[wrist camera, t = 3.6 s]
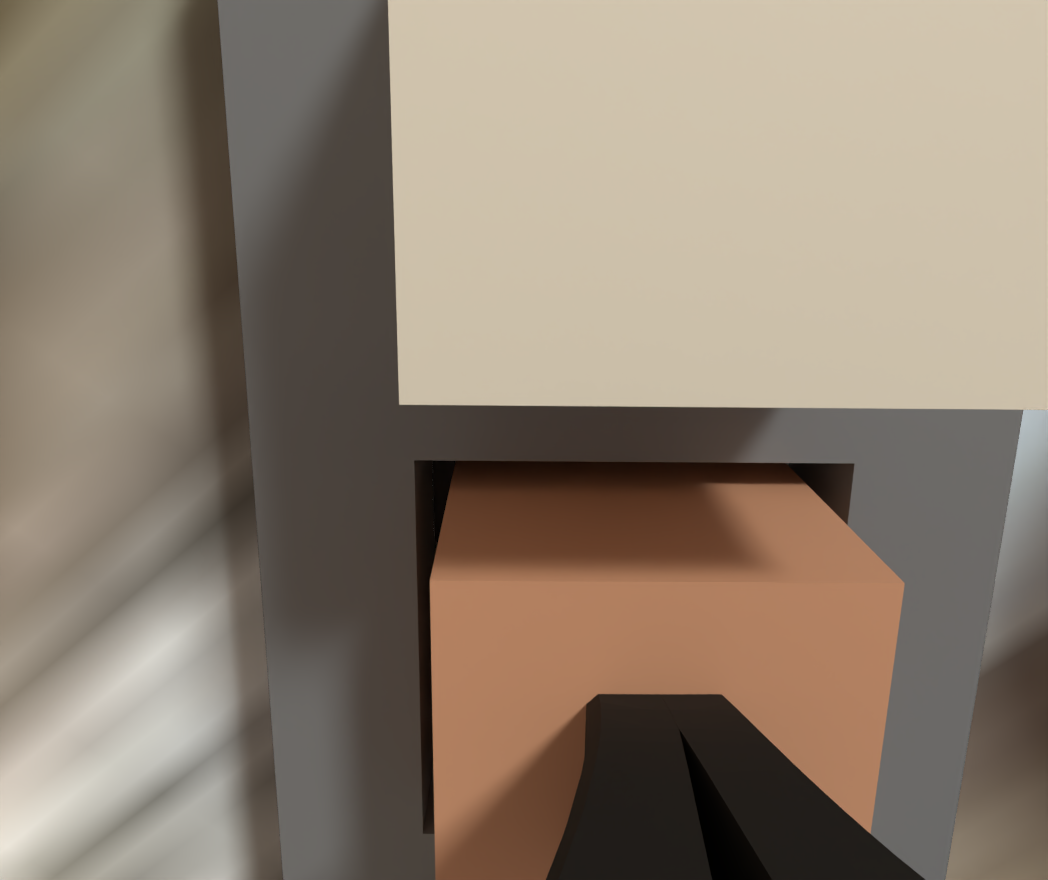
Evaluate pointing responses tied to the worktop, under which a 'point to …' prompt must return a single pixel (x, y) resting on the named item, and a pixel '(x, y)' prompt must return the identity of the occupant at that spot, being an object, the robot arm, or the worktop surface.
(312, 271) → the compartment tray
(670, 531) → the block terracotta
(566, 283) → the block cream
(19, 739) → the worktop surface
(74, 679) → the worktop surface
